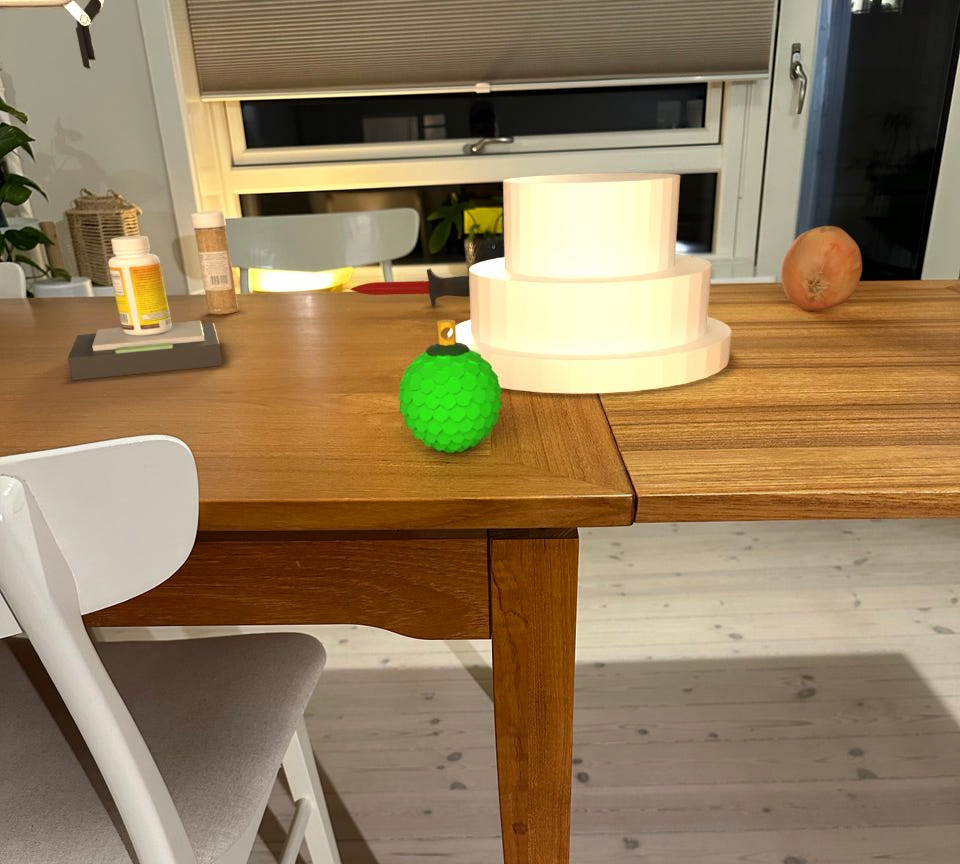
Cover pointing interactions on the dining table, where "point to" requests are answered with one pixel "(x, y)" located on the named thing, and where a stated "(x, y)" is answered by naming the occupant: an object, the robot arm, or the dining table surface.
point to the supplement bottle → (139, 287)
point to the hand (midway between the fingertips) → (43, 69)
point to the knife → (420, 287)
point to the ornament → (450, 395)
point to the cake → (593, 289)
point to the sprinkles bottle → (215, 261)
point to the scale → (144, 351)
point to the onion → (821, 268)
